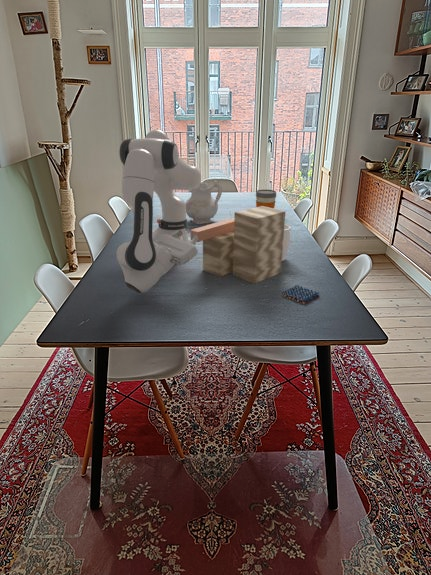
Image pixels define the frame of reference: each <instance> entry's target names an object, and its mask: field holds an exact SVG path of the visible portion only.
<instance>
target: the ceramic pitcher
mask: <svg viewBox="0 0 431 575" xmlns="http://www.w3.org/2000/svg"><path fill="white" fill-rule="evenodd" d="M212 181H213V182H212V184H210V185H209V183H207V182H200V184H199V186H198V187H197V188H196V189H191V190H190V191H191V195H190V197H189V198H188V199H187V200H186V201H185V204H186V216H188V217H189V218H190V219H192V220H191V222H192V223H193V224H197V225H209V224H212V223H213V221H212V219H213V218H214V217H215V216H216V215H217V213H218V210H219V209H218V208H219V204H218V203H219V201H220V198H221V197H222V194H223V193H222V191H223V188H222V185H221V183H220V181H219V180H218V179H214V180H212ZM214 188H217V191H218V192H217V195H216V197H215V198H213V196H212V190H213V189H214Z"/></svg>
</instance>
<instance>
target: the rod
mask: <svg viewBox="0 0 431 575" xmlns="http://www.w3.org/2000/svg"><path fill="white" fill-rule="evenodd" d="M232 231H234V217H231V218H228V219H225V220H221V221H217V222H212V223H209V224H205V225H203V226H200V227H196V228H192V229H190V232H189V233H190V241H192V237H193V236H194V235H195V236H198V240H197V241H196V243H200V242H203V240H206V239H210V238H213V237H216V236H219V235H222V234H226V233H229V232H232Z"/></svg>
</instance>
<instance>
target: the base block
mask: <svg viewBox="0 0 431 575" xmlns="http://www.w3.org/2000/svg"><path fill="white" fill-rule="evenodd" d="M233 255H234V231H232V232H229V233H226V234H222V235H219V236H216V237H213V238H210V239H206V240H203V241H202V270H203V271H205V272H207V273H209V274H212V275H214V276H216V277H223V276H225V275H228V274H231V273H233Z"/></svg>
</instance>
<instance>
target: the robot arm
mask: <svg viewBox="0 0 431 575" xmlns="http://www.w3.org/2000/svg"><path fill="white" fill-rule="evenodd" d="M118 155H119V159H120V161H121V163H122V164H123V166H124V167H123V172H122V182H121V195H122V199H123V201H124V202H125V203H126V204H127V205H128V206H130V208H131V210H132V213H133V214H132V215H133V217H132V236H131V240H129V241H126V242H124V243H121V244H120V245H119V246H118V247H117V249H116V252H115V258H116V261H117V262H118V264H119V266H120V268H121V270H122V272H123V276H124V283H125V284H126V286H127V287H128V288H129V289H131V290H132V291H133V292H136V293H139V294H144V293H146V292H147V291H149V290H150V289H151V288H153V287H154V286H155V285H156V284H157V283H158V282H159V280H160V279H161V277H162V276H163V275H165V274H167V273H168V272H169V271H170V270H171V269H172V268H173V267H174V266H175V265H177V266H182V265H186V264H187V263H189V262H190V261H191V260H193V258H195V257H196V256H197V255H198V252H199V251H198V248H197V247H196V243H197V242H196V241H197V240H198V236H195V235H194V236H193V237H192V240H189V236H188V218H187V213H186V204H185V203H186V201H184V199H182V198H181V197H179V196H178V195H176V193H175V192H174V190H175V191H191V189H196V188H197V187H198V186H199V184H200V183H201V181H202V175H201V171H200V169H198V167H197V166H194V165H192V164H189V163H187V162H186V161H184V160H183V159H182V158H181V157H180V156H179V155H180V153H179V149H178V145H177V144H176V143H175V141H173V140H171V139H170V138H169V137H168V135H167V134H166V133H165V132H164V131H162V130H160V129H153V130H150V131H149V132H147V134H146V135H145V137H143V138H128V139H124V140H122V142H121V144H120V146H119V154H118ZM154 193H155V194H156V196H157V197H158V199H159V201H160V205H161V212H162V218H157V219H156V223H157V224H158V227H157V228H156V229H155V230H153V223H154V222H153V221H154V220H153V219H154V218H153V215H154V208H153V207H154V206H153V203H154ZM166 233H172V234H170V235H169V236H168V235H166ZM178 236H181V237H182V238H183V241H182V240H179V239H177V238H176V237H178Z"/></svg>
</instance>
